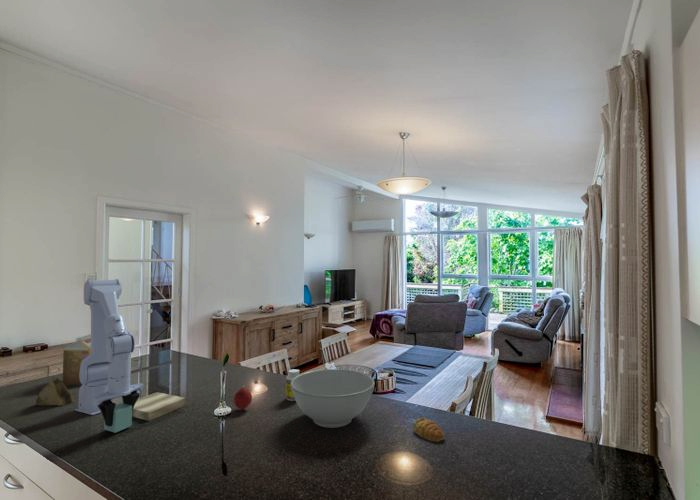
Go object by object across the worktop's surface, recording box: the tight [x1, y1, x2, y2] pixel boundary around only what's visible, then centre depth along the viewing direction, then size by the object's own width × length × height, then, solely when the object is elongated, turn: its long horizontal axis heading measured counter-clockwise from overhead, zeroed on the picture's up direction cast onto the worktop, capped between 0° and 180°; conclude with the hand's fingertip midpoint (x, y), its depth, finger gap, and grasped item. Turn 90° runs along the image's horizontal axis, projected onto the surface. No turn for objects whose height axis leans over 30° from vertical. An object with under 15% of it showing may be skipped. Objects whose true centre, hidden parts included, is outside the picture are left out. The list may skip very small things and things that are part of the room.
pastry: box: [412, 417, 445, 443], centre depth 107 cm, size 9×7×4 cm
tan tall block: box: [61, 333, 107, 386], centre depth 155 cm, size 11×11×19 cm
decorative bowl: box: [291, 368, 376, 429], centre depth 118 cm, size 27×27×12 cm
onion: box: [233, 385, 253, 411], centre depth 125 cm, size 6×6×8 cm
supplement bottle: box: [285, 368, 301, 402], centre depth 135 cm, size 6×6×10 cm
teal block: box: [103, 402, 133, 434], centre depth 110 cm, size 5×5×6 cm
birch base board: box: [132, 391, 187, 422], centre depth 125 cm, size 14×14×2 cm
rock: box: [35, 377, 75, 407], centre depth 130 cm, size 11×9×10 cm
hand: (118, 421), depth 110 cm, fingers closed on teal block, 5 cm apart
